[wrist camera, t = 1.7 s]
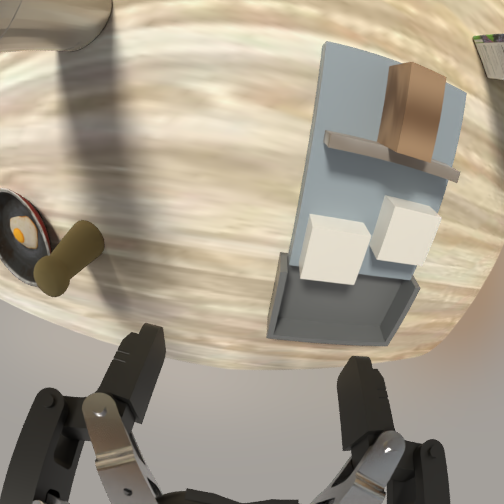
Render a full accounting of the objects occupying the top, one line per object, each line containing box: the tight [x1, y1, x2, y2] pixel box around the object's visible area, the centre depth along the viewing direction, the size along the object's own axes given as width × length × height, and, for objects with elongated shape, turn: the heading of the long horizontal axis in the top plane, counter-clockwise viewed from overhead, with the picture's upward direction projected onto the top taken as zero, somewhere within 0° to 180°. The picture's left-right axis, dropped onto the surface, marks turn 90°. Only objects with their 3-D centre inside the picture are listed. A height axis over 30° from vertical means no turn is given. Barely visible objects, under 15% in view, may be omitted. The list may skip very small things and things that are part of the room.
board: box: [289, 41, 467, 280], centre depth 26 cm, size 24×16×2 cm, turn 174°
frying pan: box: [0, 188, 51, 287], centre depth 35 cm, size 19×32×4 cm, turn 96°
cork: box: [33, 220, 104, 297], centre depth 30 cm, size 6×6×11 cm
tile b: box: [299, 214, 371, 285], centre depth 28 cm, size 6×6×3 cm
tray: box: [266, 252, 420, 346], centre depth 35 cm, size 11×18×4 cm, turn 84°
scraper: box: [323, 62, 460, 183], centre depth 19 cm, size 9×14×5 cm, turn 84°
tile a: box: [369, 195, 442, 266], centre depth 26 cm, size 6×6×3 cm
